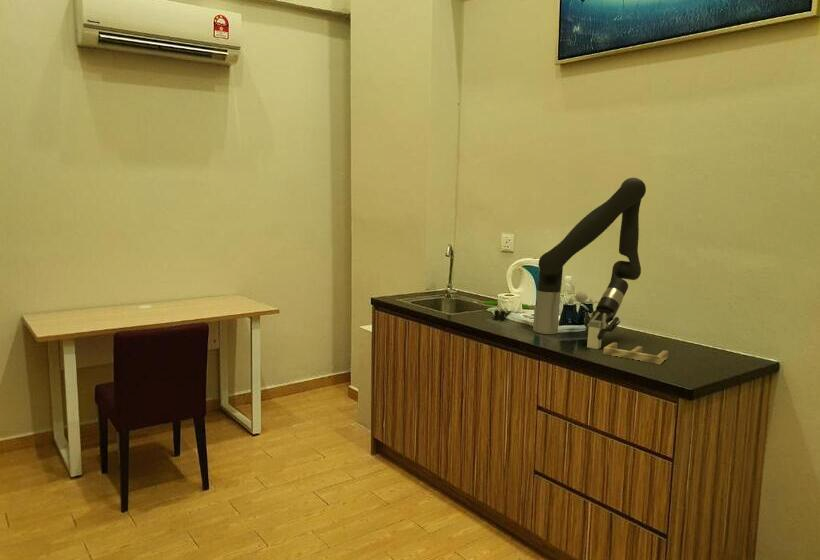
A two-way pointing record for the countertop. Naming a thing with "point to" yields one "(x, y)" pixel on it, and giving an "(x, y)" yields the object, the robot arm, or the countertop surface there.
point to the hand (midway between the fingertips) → (592, 337)
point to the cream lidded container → (594, 334)
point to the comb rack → (635, 354)
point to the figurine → (502, 311)
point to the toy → (581, 298)
